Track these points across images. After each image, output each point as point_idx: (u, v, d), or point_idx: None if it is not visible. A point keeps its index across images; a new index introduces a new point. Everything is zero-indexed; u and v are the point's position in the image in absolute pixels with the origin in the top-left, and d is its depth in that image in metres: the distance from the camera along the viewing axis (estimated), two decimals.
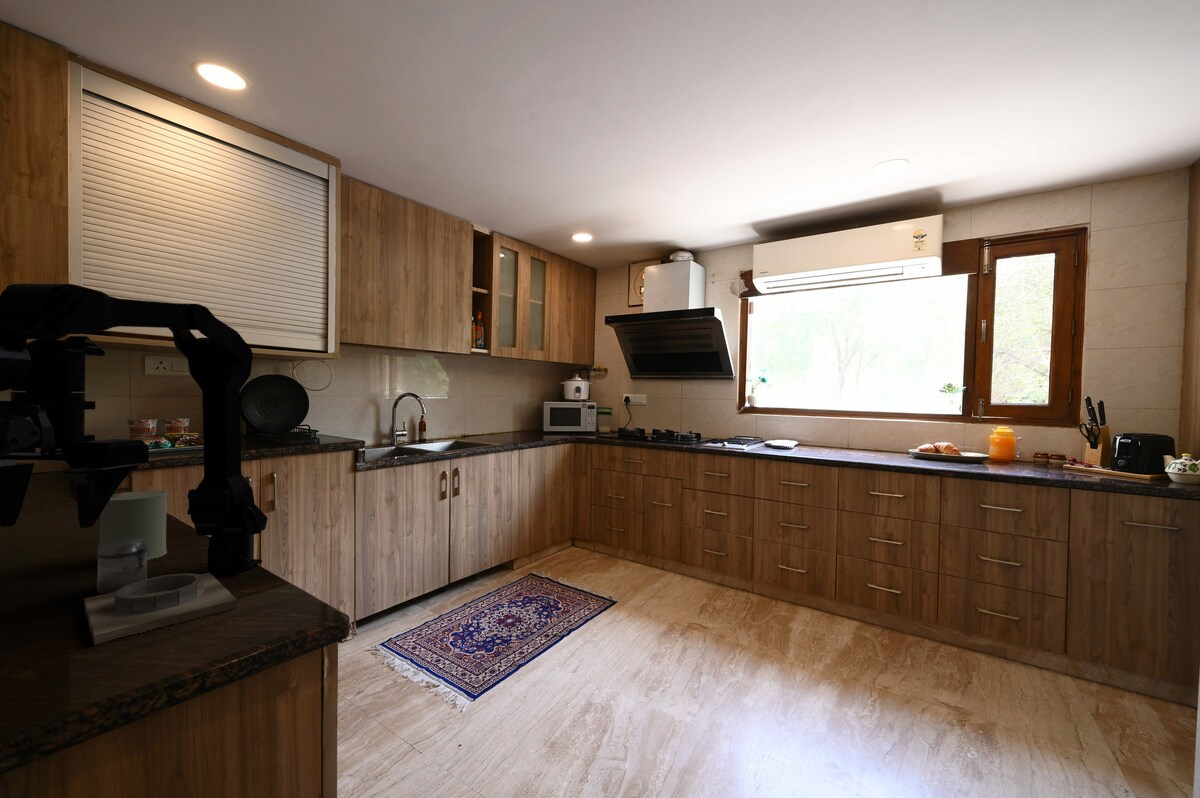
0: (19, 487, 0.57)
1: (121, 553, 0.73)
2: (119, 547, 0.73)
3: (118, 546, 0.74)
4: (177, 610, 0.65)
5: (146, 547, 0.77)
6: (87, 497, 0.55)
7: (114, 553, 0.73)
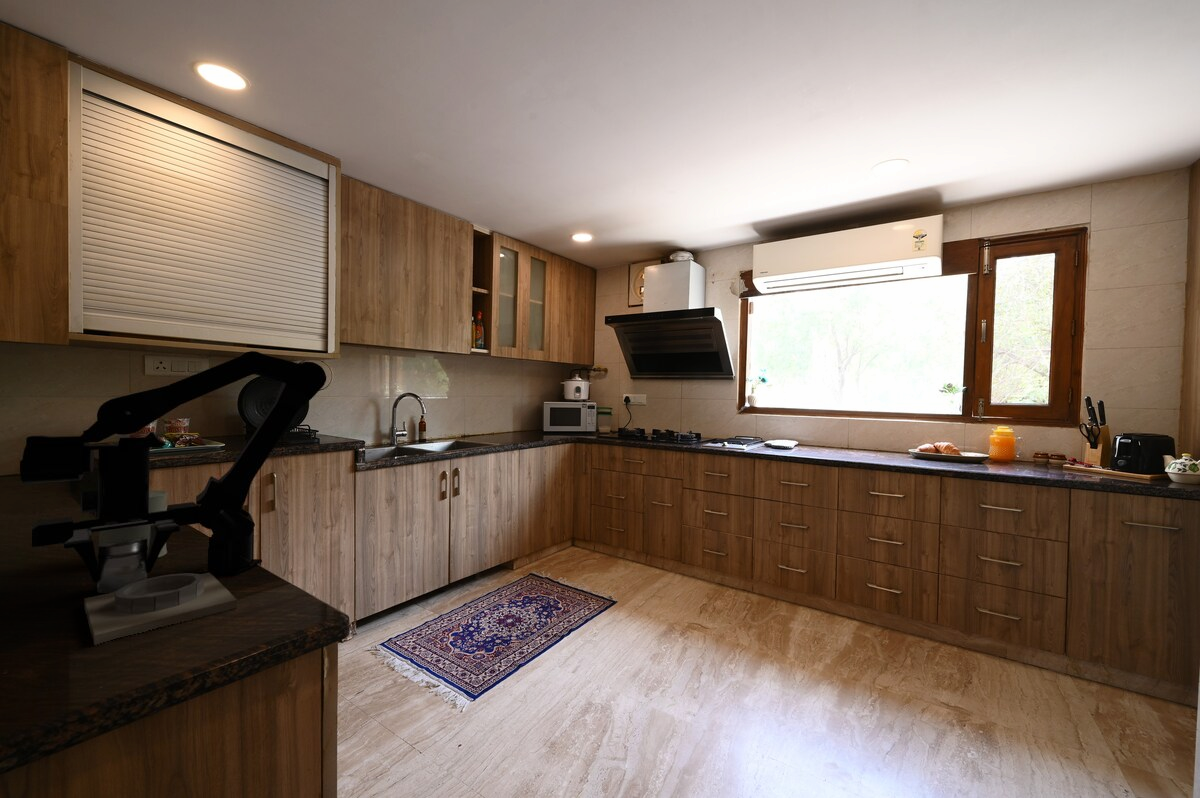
0: (151, 546, 0.77)
1: (121, 553, 0.73)
2: (119, 547, 0.73)
3: (118, 546, 0.74)
4: (177, 610, 0.65)
5: (146, 547, 0.77)
6: None
7: (114, 553, 0.73)
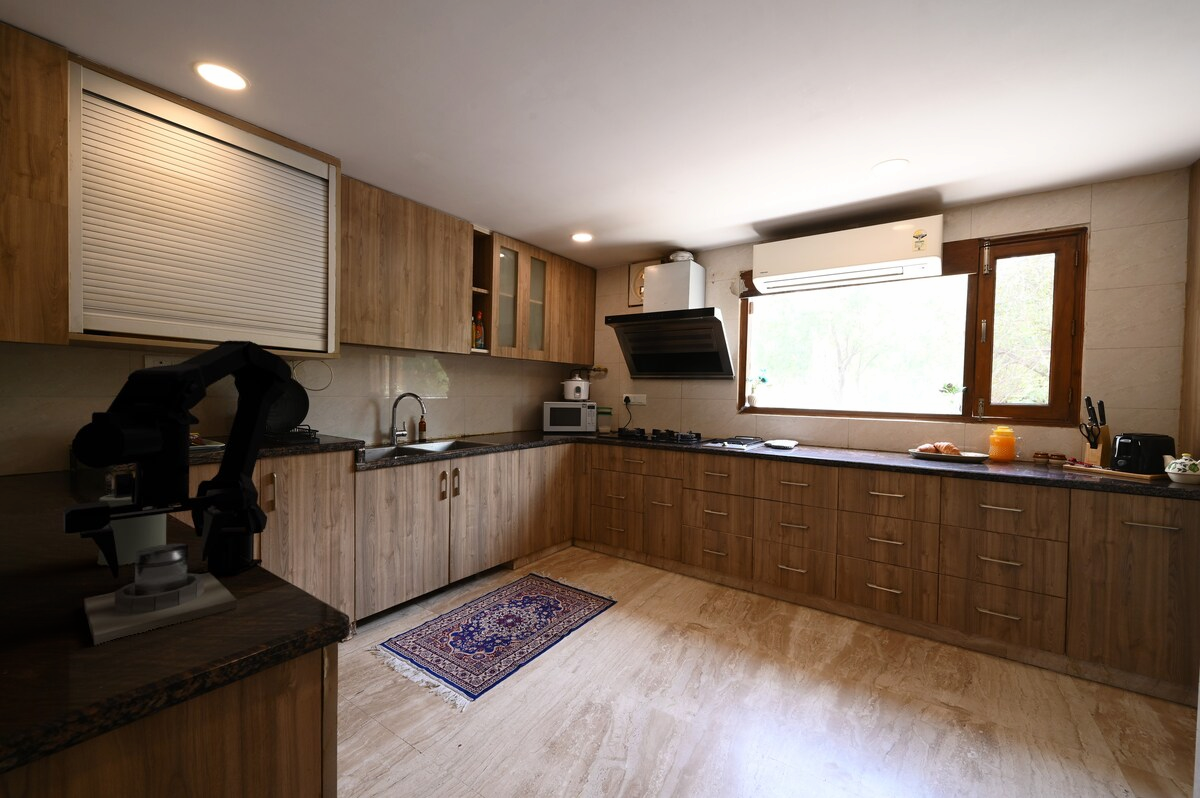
0: (206, 533, 0.71)
1: (161, 561, 0.66)
2: (159, 554, 0.66)
3: (158, 553, 0.67)
4: (177, 610, 0.65)
5: (187, 554, 0.70)
6: None
7: (154, 561, 0.66)
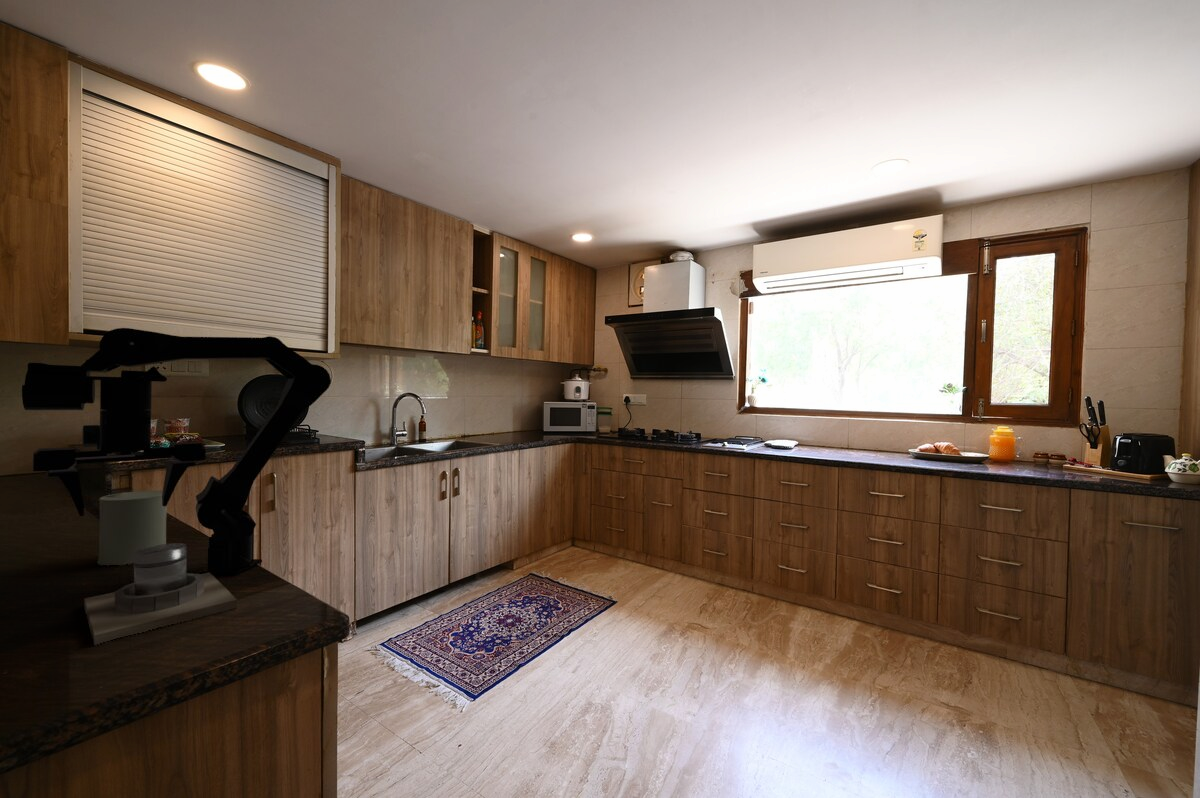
0: (167, 480, 0.78)
1: (159, 561, 0.66)
2: (157, 555, 0.66)
3: (156, 554, 0.66)
4: (177, 610, 0.65)
5: (185, 554, 0.70)
6: None
7: (152, 561, 0.66)
